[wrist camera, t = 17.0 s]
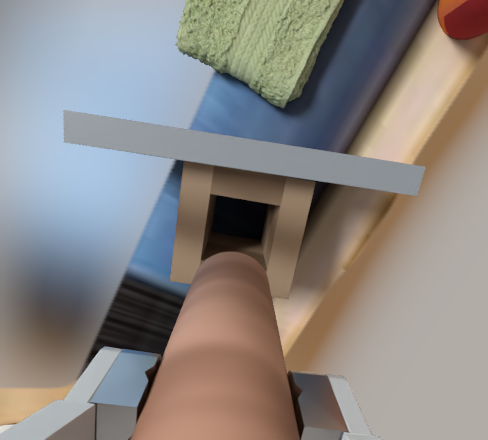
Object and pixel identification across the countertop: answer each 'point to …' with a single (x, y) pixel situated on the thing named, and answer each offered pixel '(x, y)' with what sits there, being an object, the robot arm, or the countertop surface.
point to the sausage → (222, 362)
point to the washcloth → (259, 40)
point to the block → (263, 251)
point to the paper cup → (463, 18)
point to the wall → (241, 153)
